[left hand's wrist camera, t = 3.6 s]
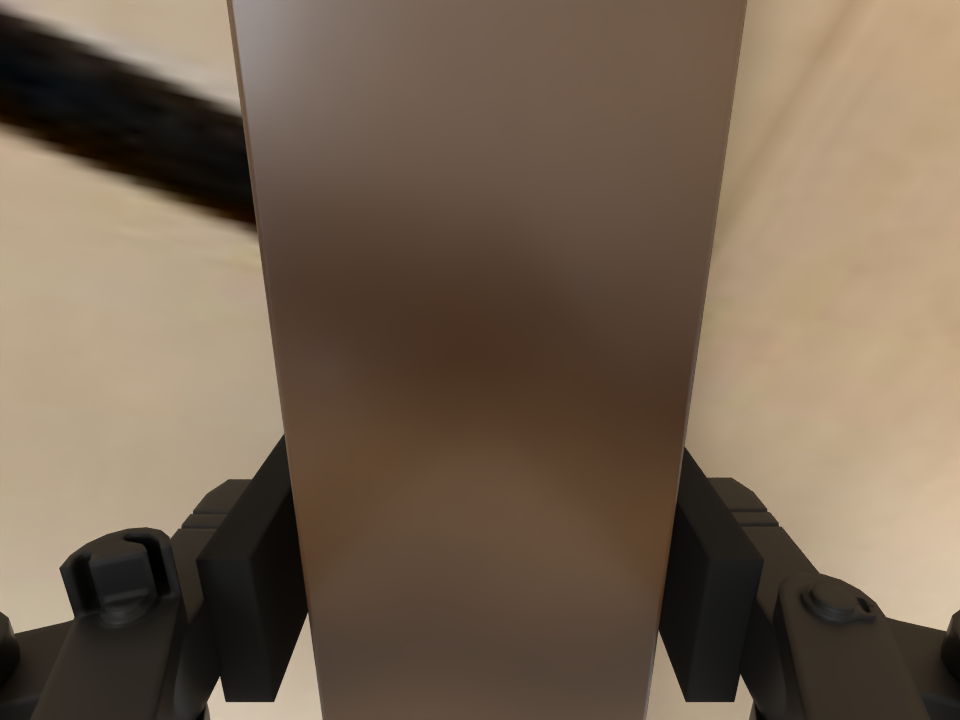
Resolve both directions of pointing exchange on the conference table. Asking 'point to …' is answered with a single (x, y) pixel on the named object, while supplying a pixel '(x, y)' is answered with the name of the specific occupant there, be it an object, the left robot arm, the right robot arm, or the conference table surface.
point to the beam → (485, 331)
